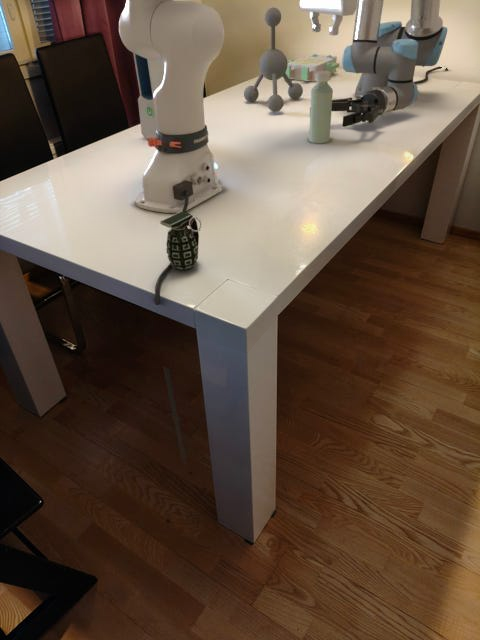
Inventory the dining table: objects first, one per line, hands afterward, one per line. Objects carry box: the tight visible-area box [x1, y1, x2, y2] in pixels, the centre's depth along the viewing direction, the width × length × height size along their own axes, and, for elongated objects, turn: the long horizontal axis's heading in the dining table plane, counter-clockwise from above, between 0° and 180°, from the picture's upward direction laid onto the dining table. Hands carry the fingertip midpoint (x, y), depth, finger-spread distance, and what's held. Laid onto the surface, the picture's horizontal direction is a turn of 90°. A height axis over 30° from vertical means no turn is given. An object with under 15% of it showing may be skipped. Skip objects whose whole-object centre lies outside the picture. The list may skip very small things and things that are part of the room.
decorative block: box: [285, 53, 340, 82], centre depth 209 cm, size 26×6×20 cm
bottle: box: [308, 81, 334, 144], centre depth 139 cm, size 6×6×18 cm
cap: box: [314, 71, 331, 82], centre depth 134 cm, size 4×4×2 cm
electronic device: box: [132, 52, 165, 140], centre depth 143 cm, size 12×8×30 cm, turn 47°
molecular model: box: [243, 6, 304, 113], centre depth 169 cm, size 24×22×30 cm
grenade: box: [159, 211, 202, 271], centre depth 88 cm, size 7×6×10 cm
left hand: (324, 33), depth 128 cm, fingers open, 6 cm apart
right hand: (326, 116), depth 140 cm, fingers open, 13 cm apart
